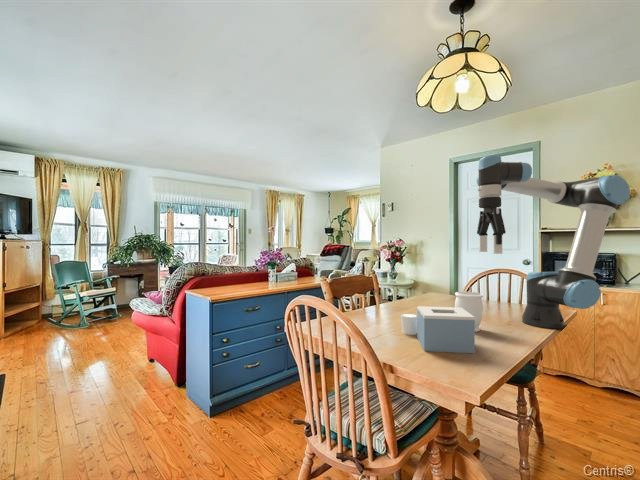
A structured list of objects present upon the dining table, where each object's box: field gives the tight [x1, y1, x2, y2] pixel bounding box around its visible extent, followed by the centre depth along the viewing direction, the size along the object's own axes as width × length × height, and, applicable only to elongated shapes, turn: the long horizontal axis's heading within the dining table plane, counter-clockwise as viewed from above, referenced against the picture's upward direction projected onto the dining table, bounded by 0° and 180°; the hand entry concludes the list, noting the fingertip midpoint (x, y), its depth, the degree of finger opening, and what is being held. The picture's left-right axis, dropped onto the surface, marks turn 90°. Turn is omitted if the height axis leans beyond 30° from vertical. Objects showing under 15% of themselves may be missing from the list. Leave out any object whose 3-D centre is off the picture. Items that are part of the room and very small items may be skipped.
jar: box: [454, 291, 484, 333], centre depth 129 cm, size 11×10×15 cm
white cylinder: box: [400, 313, 417, 336], centre depth 124 cm, size 7×7×7 cm
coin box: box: [416, 305, 476, 354], centre depth 110 cm, size 16×14×12 cm
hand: (490, 252), depth 119 cm, fingers open, 13 cm apart
